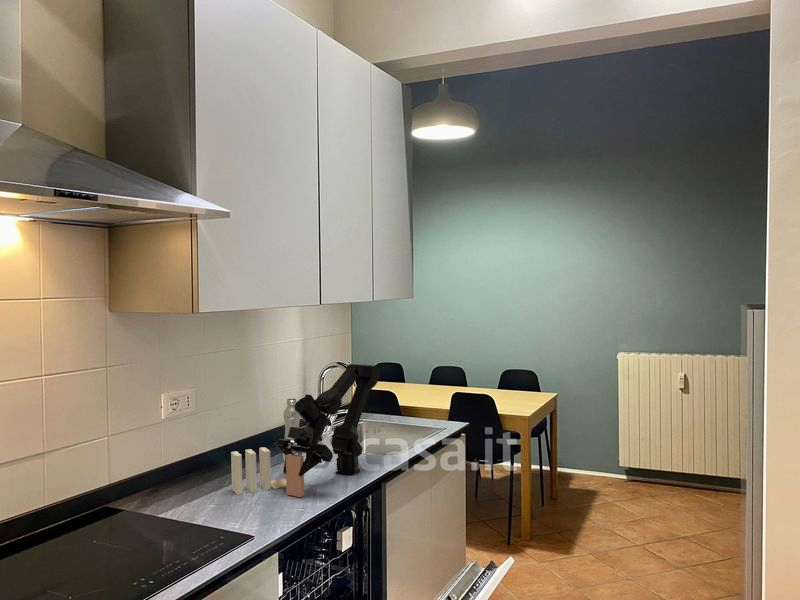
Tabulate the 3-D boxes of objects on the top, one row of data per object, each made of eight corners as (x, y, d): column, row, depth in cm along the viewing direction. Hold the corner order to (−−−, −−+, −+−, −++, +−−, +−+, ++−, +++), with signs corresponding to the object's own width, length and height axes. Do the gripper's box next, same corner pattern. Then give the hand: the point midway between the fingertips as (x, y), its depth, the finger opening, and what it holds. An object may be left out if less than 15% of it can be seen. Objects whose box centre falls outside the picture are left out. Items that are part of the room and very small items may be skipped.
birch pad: (283, 479, 209) (283, 478, 209) (292, 486, 202) (292, 484, 202) (266, 482, 206) (266, 481, 206) (273, 489, 199) (273, 488, 199)
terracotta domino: (290, 492, 195) (289, 453, 194) (304, 495, 192) (303, 456, 191) (286, 494, 193) (285, 455, 193) (300, 497, 190) (299, 457, 190)
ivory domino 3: (265, 484, 205) (264, 447, 204) (270, 488, 200) (270, 450, 199) (260, 485, 204) (259, 447, 203) (265, 489, 199) (264, 451, 199)
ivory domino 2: (251, 486, 202) (250, 449, 202) (256, 491, 197) (255, 453, 197) (246, 487, 201) (245, 450, 201) (251, 492, 197) (250, 453, 196)
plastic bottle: (280, 452, 242) (279, 400, 241) (289, 448, 248) (288, 397, 248) (295, 454, 240) (294, 401, 239) (304, 449, 246) (303, 398, 245)
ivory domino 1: (237, 488, 200) (236, 451, 200) (242, 493, 195) (241, 455, 195) (231, 489, 199) (231, 452, 199) (236, 494, 194) (235, 456, 194)
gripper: (278, 413, 200) (255, 456, 191) (326, 418, 190) (303, 464, 181) (295, 432, 207) (273, 475, 198) (342, 439, 197) (321, 484, 188)
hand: (291, 474), depth 191 cm, fingers closed on terracotta domino, 5 cm apart
